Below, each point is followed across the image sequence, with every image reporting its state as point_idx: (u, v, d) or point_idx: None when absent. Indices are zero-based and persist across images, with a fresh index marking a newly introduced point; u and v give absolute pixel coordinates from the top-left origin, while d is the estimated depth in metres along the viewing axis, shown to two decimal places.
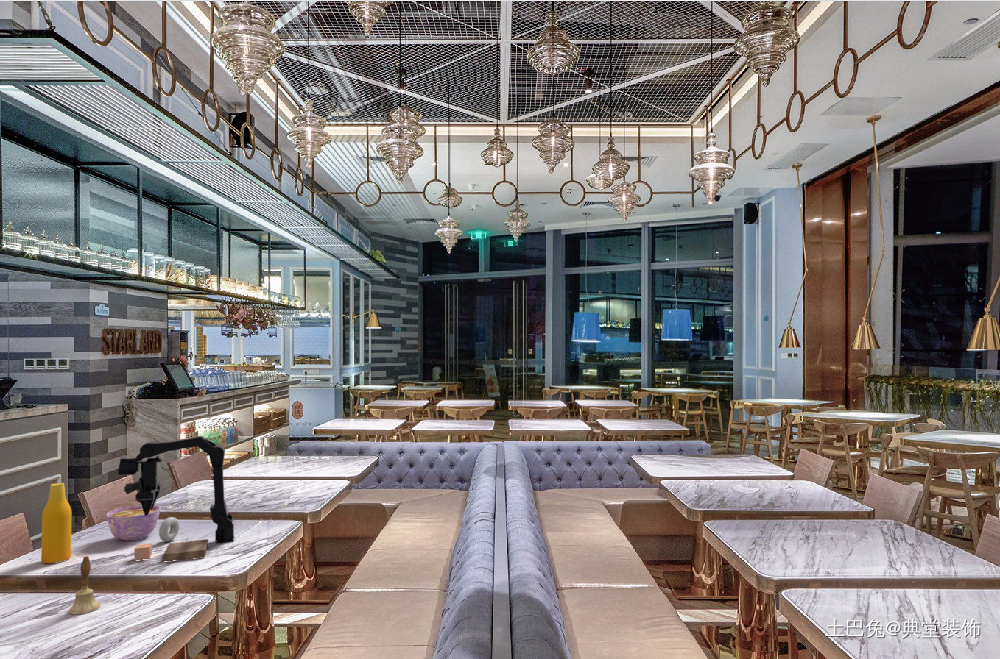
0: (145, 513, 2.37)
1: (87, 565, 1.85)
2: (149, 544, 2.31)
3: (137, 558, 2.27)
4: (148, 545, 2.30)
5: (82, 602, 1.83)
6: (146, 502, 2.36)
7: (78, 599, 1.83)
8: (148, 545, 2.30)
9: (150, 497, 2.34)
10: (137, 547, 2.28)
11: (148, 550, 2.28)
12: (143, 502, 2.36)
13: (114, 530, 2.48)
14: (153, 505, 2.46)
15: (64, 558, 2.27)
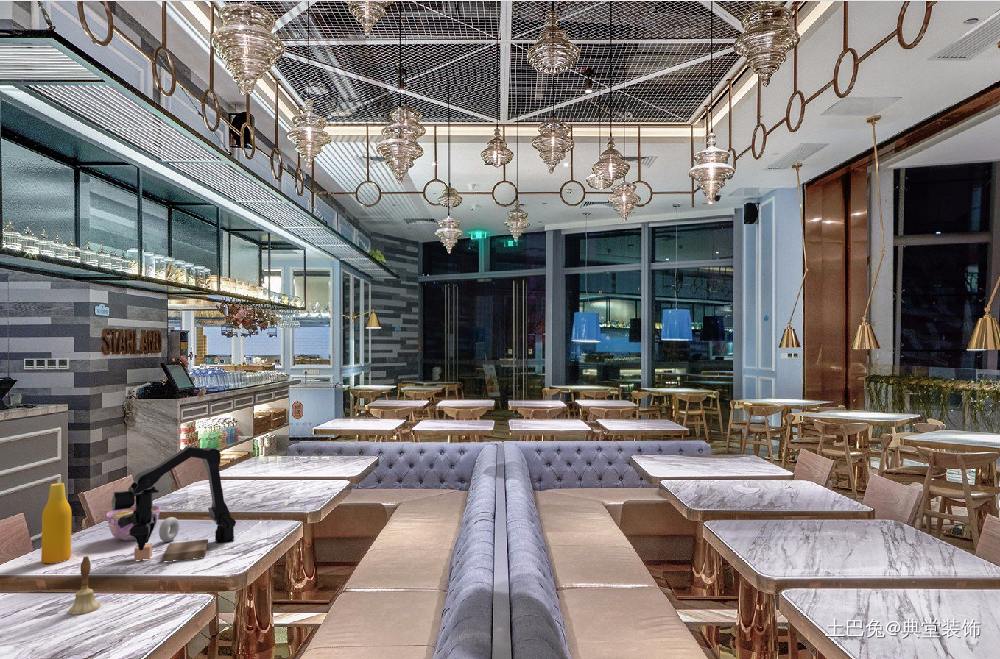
0: (140, 548, 2.25)
1: (87, 565, 1.85)
2: (149, 544, 2.31)
3: (137, 558, 2.27)
4: (148, 545, 2.30)
5: (82, 602, 1.83)
6: (141, 536, 2.25)
7: (78, 599, 1.83)
8: (148, 545, 2.30)
9: (145, 531, 2.22)
10: (137, 547, 2.28)
11: (148, 550, 2.28)
12: (138, 536, 2.24)
13: (114, 530, 2.48)
14: (148, 538, 2.35)
15: (64, 558, 2.27)
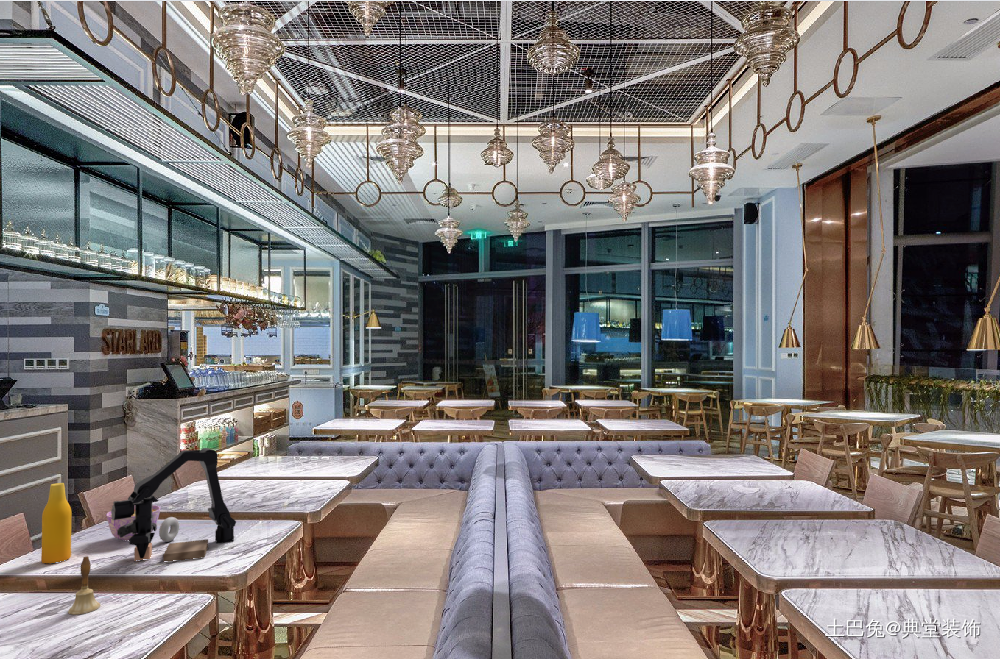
0: (140, 556, 2.27)
1: (87, 565, 1.85)
2: (149, 544, 2.32)
3: (137, 558, 2.27)
4: (148, 545, 2.30)
5: (82, 602, 1.83)
6: (142, 544, 2.27)
7: (78, 599, 1.83)
8: (148, 545, 2.30)
9: (145, 541, 2.22)
10: None
11: (148, 550, 2.28)
12: (138, 545, 2.26)
13: (114, 530, 2.48)
14: None
15: (64, 558, 2.27)
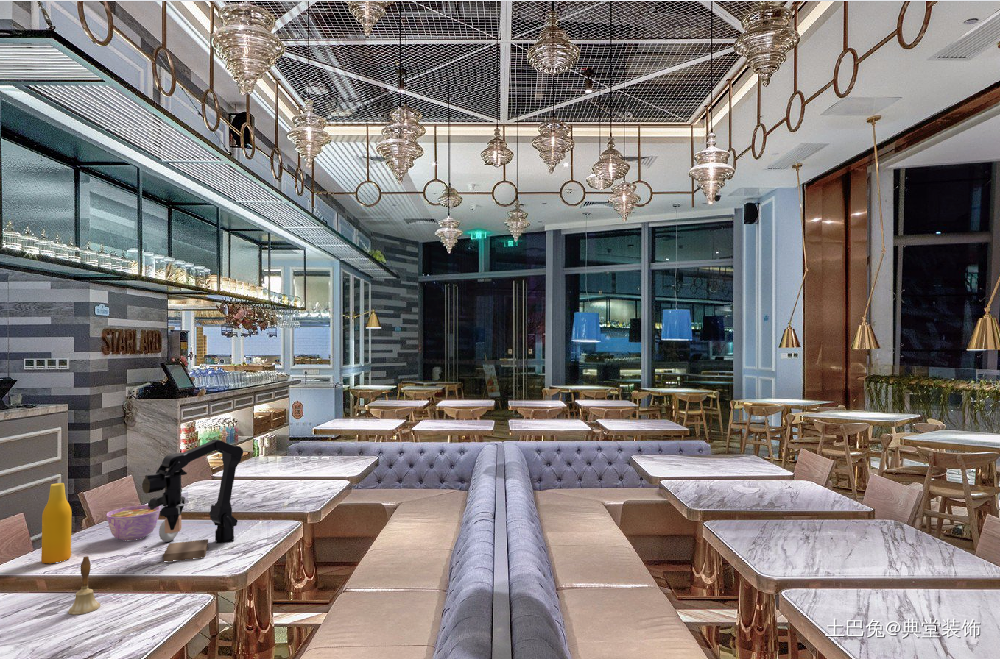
0: (171, 528, 2.31)
1: (87, 565, 1.85)
2: (179, 516, 2.35)
3: (167, 529, 2.31)
4: (178, 517, 2.34)
5: (82, 602, 1.83)
6: (172, 516, 2.30)
7: (78, 599, 1.83)
8: None
9: (175, 513, 2.26)
10: None
11: (178, 522, 2.32)
12: (169, 516, 2.29)
13: (114, 530, 2.48)
14: None
15: (64, 558, 2.27)
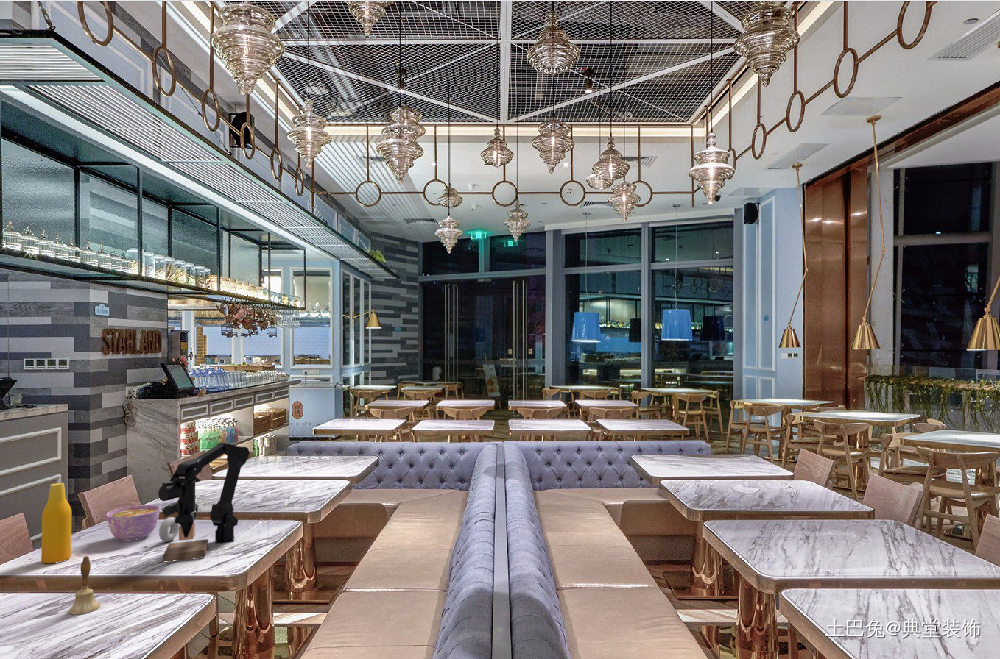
0: (185, 535, 2.32)
1: (87, 565, 1.85)
2: None
3: (181, 537, 2.32)
4: None
5: (82, 602, 1.83)
6: (186, 524, 2.31)
7: (78, 599, 1.83)
8: None
9: (190, 520, 2.27)
10: None
11: (192, 529, 2.33)
12: (183, 524, 2.31)
13: (114, 530, 2.48)
14: None
15: (64, 558, 2.27)
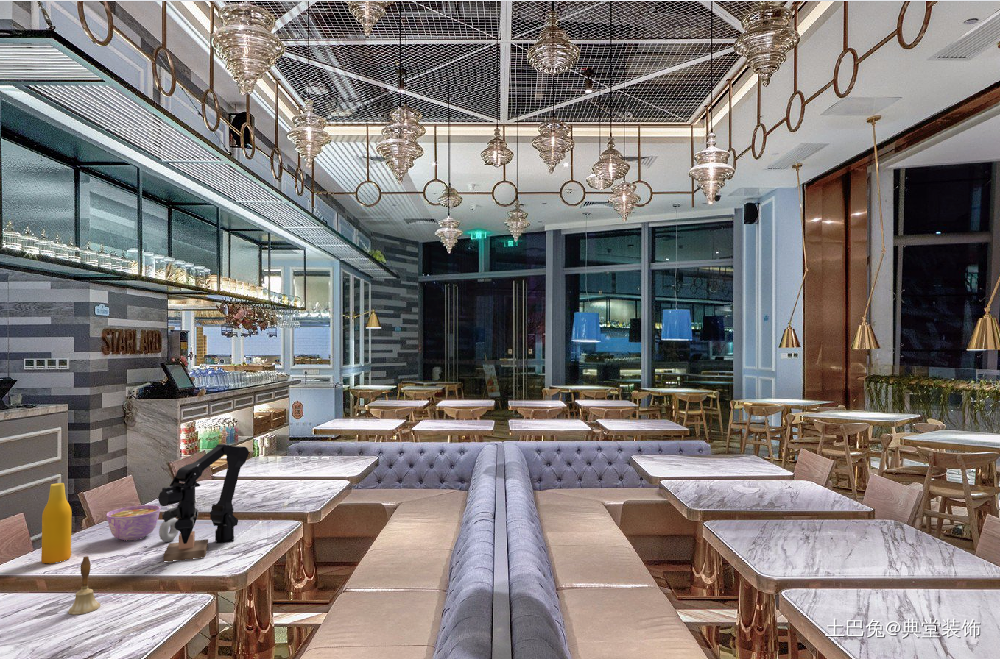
0: (184, 542, 2.30)
1: (87, 565, 1.85)
2: (192, 532, 2.36)
3: (181, 545, 2.31)
4: (191, 533, 2.35)
5: (82, 602, 1.83)
6: (185, 530, 2.29)
7: (78, 599, 1.83)
8: (191, 533, 2.34)
9: (190, 525, 2.27)
10: None
11: (192, 538, 2.33)
12: (182, 530, 2.29)
13: (114, 530, 2.48)
14: None
15: (64, 558, 2.27)
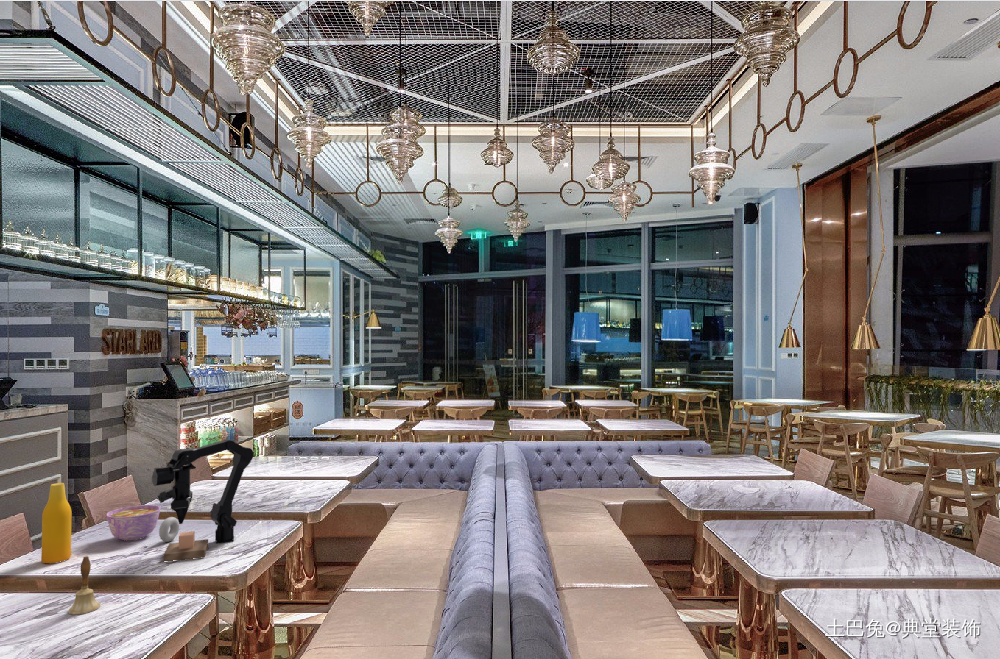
0: (180, 522, 2.34)
1: (87, 565, 1.85)
2: (192, 532, 2.36)
3: (181, 545, 2.31)
4: (191, 533, 2.35)
5: (82, 602, 1.83)
6: (181, 510, 2.33)
7: (78, 599, 1.83)
8: (191, 533, 2.34)
9: (186, 505, 2.31)
10: (181, 535, 2.33)
11: (192, 538, 2.33)
12: (178, 510, 2.33)
13: (114, 530, 2.48)
14: None
15: (64, 558, 2.27)
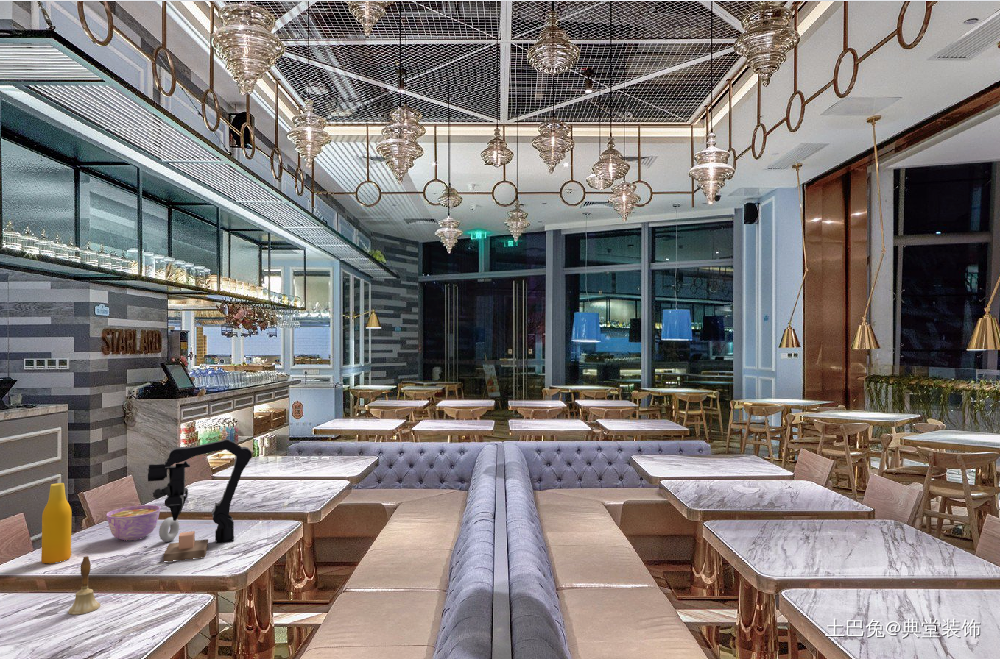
0: (174, 519, 2.39)
1: (87, 565, 1.85)
2: (192, 532, 2.36)
3: (181, 545, 2.31)
4: (191, 533, 2.35)
5: (82, 602, 1.83)
6: (175, 507, 2.38)
7: (78, 599, 1.83)
8: (191, 533, 2.34)
9: (179, 502, 2.35)
10: (181, 535, 2.33)
11: (192, 538, 2.33)
12: (172, 507, 2.37)
13: (114, 530, 2.48)
14: (181, 510, 2.48)
15: (64, 558, 2.27)
